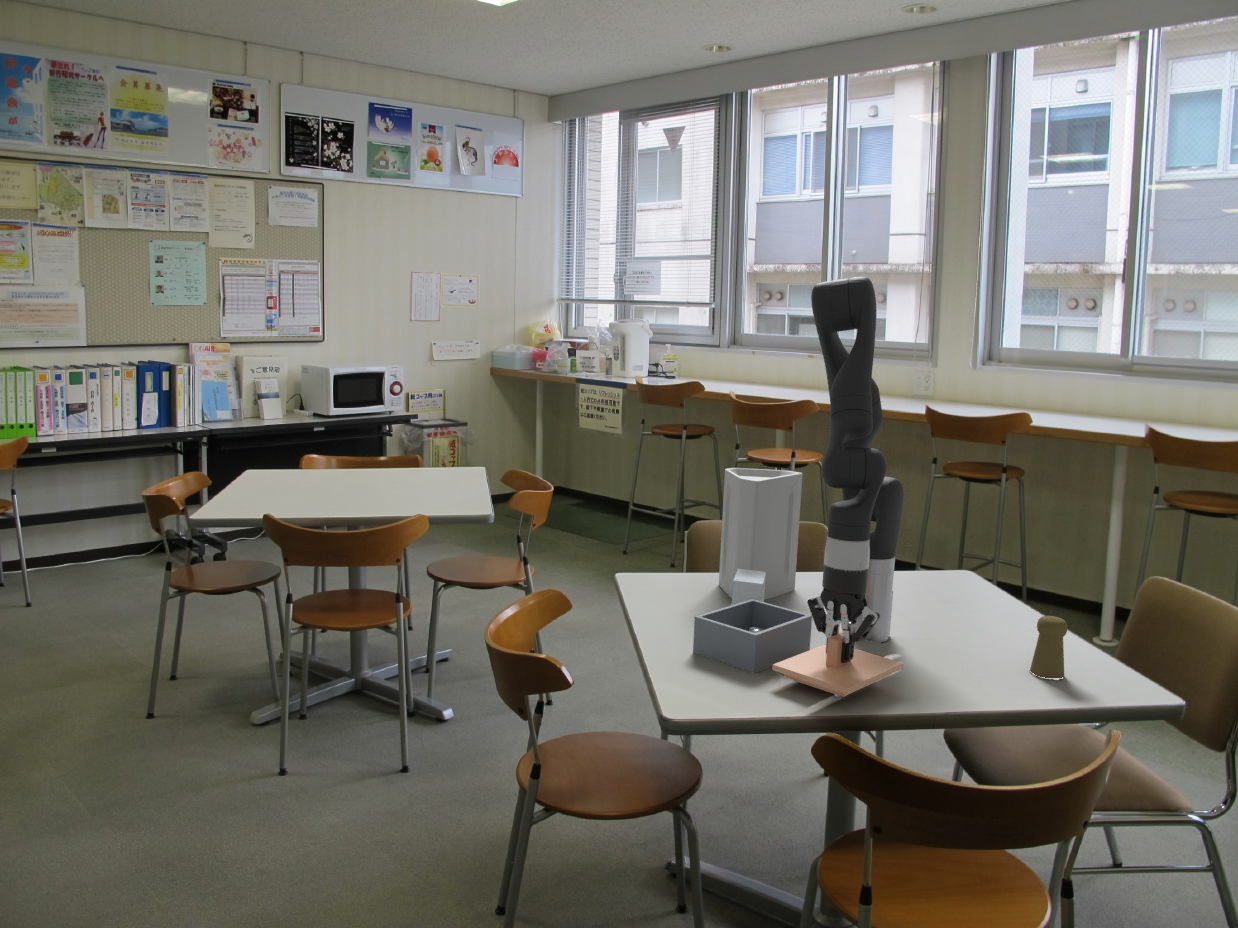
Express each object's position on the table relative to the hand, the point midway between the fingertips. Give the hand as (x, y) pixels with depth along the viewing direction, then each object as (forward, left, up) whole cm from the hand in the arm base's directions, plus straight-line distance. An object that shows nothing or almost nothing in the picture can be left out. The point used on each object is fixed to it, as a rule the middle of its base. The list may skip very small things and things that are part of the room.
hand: (838, 659), depth 174 cm
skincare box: (-18, -33, -6) cm, 38 cm away
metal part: (-6, -22, -4) cm, 23 cm away
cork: (-37, +22, -6) cm, 44 cm away
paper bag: (-39, -48, -6) cm, 62 cm away
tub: (-2, -20, -5) cm, 21 cm away
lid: (0, 0, -3) cm, 3 cm away
